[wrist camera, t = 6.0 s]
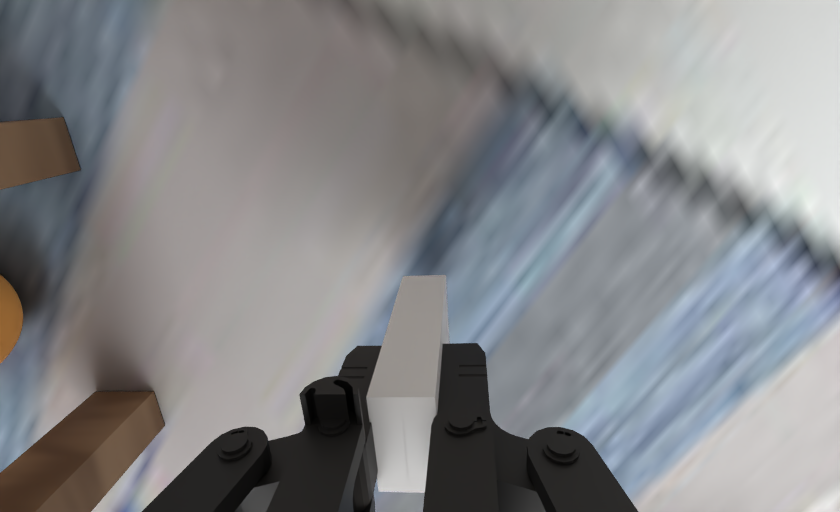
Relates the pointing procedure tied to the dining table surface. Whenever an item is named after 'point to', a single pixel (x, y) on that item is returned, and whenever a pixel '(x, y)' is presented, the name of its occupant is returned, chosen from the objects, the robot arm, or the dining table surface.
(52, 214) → the dining table surface
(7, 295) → the ball
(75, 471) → the bridge
